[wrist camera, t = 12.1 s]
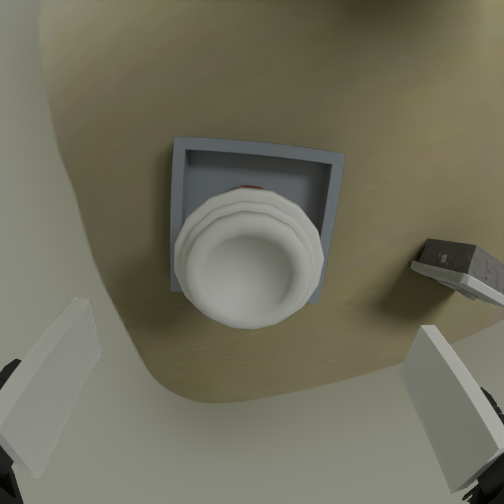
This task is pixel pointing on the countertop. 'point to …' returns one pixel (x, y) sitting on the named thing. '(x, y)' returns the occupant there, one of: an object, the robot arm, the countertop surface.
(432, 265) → the electrical switch
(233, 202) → the coffee cup
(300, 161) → the dock tray
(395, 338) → the countertop surface
